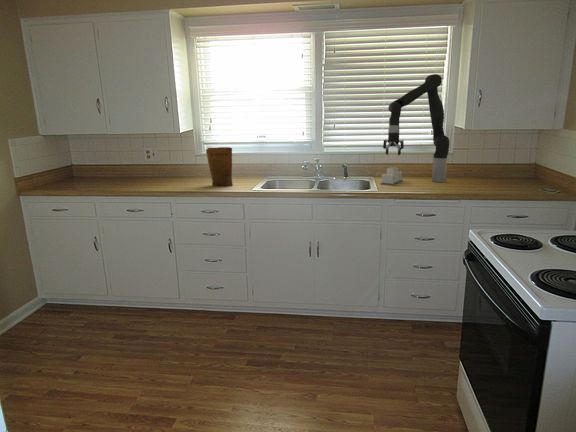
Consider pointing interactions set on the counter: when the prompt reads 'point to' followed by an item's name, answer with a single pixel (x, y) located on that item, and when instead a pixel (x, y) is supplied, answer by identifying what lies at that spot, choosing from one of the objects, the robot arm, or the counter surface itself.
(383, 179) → the rail
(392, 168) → the block
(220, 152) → the pancake mix bag
